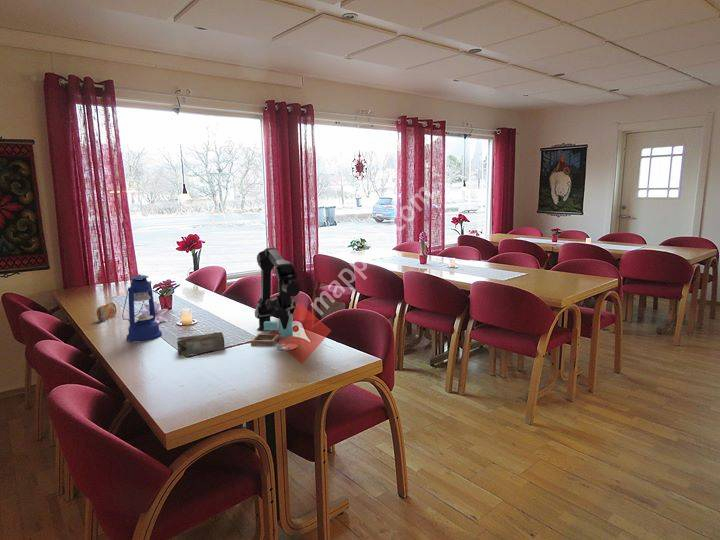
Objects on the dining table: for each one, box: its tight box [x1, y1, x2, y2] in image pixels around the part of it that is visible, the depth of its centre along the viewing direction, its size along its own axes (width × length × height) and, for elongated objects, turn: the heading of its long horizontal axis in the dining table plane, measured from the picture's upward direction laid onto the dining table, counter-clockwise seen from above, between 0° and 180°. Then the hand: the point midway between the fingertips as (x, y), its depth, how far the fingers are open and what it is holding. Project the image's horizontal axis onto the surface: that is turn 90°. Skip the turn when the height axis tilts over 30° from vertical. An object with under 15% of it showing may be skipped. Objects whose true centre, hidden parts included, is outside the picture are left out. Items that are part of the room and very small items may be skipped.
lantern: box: [122, 274, 162, 342], centre depth 216 cm, size 17×15×30 cm
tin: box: [96, 302, 117, 322], centre depth 250 cm, size 15×3×8 cm, turn 179°
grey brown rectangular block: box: [176, 331, 225, 356], centre depth 199 cm, size 8×19×7 cm, turn 112°
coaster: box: [276, 342, 291, 351], centre depth 201 cm, size 9×9×1 cm
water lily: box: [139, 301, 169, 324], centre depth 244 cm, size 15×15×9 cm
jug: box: [263, 313, 294, 338], centre depth 200 cm, size 12×6×10 cm, turn 88°
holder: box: [250, 333, 280, 346], centre depth 209 cm, size 10×10×2 cm
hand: (286, 327), depth 200 cm, fingers closed on jug, 6 cm apart
